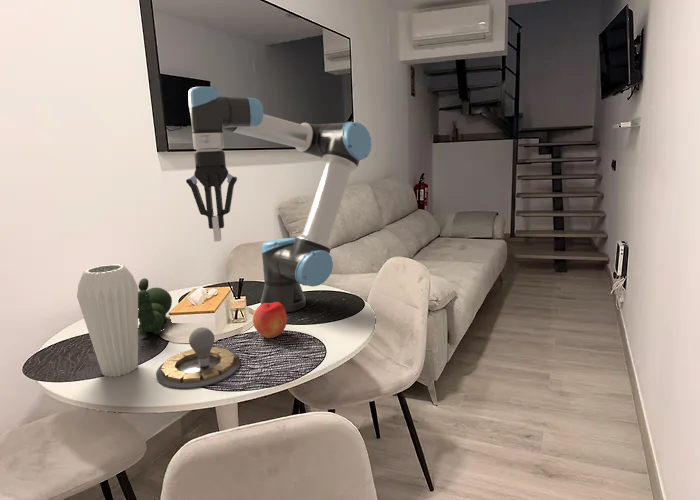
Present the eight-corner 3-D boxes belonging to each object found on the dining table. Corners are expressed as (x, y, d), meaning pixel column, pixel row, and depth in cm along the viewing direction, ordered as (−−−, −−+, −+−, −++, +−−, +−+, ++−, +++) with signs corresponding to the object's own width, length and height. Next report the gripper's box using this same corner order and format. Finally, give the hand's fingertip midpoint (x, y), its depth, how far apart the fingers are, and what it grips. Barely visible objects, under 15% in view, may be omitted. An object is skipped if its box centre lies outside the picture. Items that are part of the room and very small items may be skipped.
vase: (87, 387, 111) (69, 279, 105) (92, 364, 123) (76, 266, 117) (149, 375, 116) (134, 271, 110) (148, 353, 128) (135, 259, 122)
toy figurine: (166, 345, 137) (177, 309, 160) (157, 284, 131) (169, 256, 155) (132, 349, 135) (147, 312, 159) (121, 288, 129) (138, 258, 153)
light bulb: (210, 372, 115) (206, 333, 113) (187, 370, 116) (183, 332, 114) (221, 361, 121) (217, 324, 119) (199, 359, 122) (195, 323, 120)
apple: (287, 328, 142) (285, 296, 140) (288, 341, 133) (286, 307, 131) (254, 331, 141) (251, 299, 138) (253, 344, 132) (250, 310, 129)
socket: (168, 354, 127) (167, 348, 127) (243, 348, 129) (243, 342, 129) (145, 392, 108) (144, 385, 108) (235, 384, 110) (234, 377, 110)
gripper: (179, 151, 118) (189, 244, 123) (233, 149, 119) (241, 241, 124) (186, 151, 125) (195, 238, 130) (236, 149, 126) (244, 236, 131)
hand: (217, 240), depth 127 cm, fingers closed
